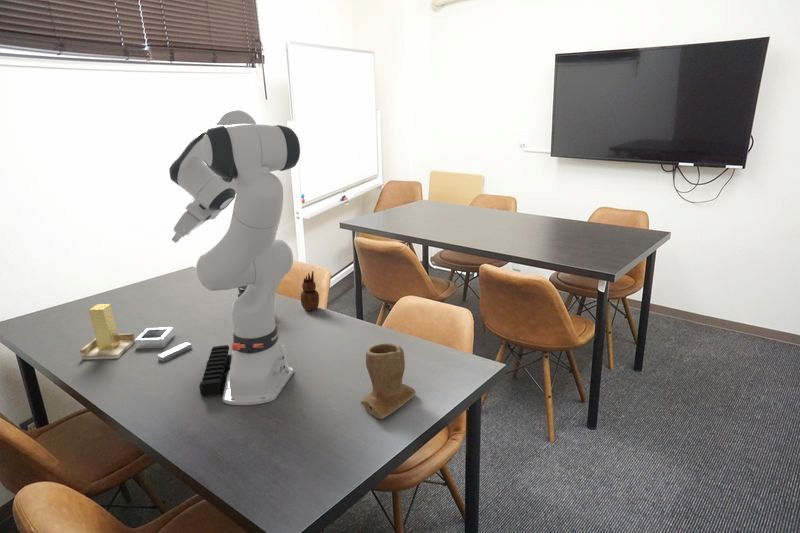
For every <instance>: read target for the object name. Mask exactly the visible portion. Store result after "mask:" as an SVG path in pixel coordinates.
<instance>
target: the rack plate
mask: <svg viewBox="0 0 800 533" xmlns="http://www.w3.org/2000/svg"><path fill="white" fill-rule="evenodd" d="M118 337H119V342H120V344H119V345H118V346H117V347H116V348H114V349H113V350H100V351H99V350H98V346H97V342H96V338H95V337H94V338H93V339H92V340H91V341H89V343H87V344H86V345H85V346H83V347H82V348H81V349H80V355H81V359H82V360H109V359H119V358H120V357H121V356H122V355H123V354H124V353H126V352H127V351H128V349H129V348H131V347H132V346H133V345H135V339H136V338H135V333H134V332H124V333H123V332H122V333H118Z"/></svg>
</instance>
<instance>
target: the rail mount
mask: <svg viewBox="0 0 800 533" xmlns="http://www.w3.org/2000/svg"><path fill="white" fill-rule="evenodd" d="M229 351H230V346H229V345H228V344H224V345H217V346H216V345H215V346H213V347H212V348H211V349H210V353H209V356H208V360H207V361H206V366H205V369H204V372H203V373H204V374H203V377H202V379H201V381H200V382H199V393H200V396H203V397H208V396H216V395H222V396H223V393H224V388H225V383H226V379H227V374H225V372H226V373H228V371H229V370H230V365H231V358H232V354H229ZM220 393H221V394H220Z"/></svg>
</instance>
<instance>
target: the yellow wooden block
mask: <svg viewBox="0 0 800 533" xmlns="http://www.w3.org/2000/svg"><path fill="white" fill-rule="evenodd" d="M88 314H89V317H90V321H91V325H92V329H93V334H94V339H95V338H96V342H97V346H98V350H99V351H100V350H113V349H114V348H116V347H117V346H118V345H119V344H120V342H119V337H118V334H119V333H118V329H117V325H116V321H115V316H114V312H113V307H112V304H111V303H99V304H98V303H96V304H95V305H94V306H92V307H90V308H89V309H88Z"/></svg>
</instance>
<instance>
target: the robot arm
mask: <svg viewBox="0 0 800 533" xmlns="http://www.w3.org/2000/svg"><path fill="white" fill-rule="evenodd" d="M300 157H301V145H300V140H299V137H298V136H297V134H296V132H295V131H294V130H293V129H292V128H290V127H287V126H284V125H279V124H273V125H272V124H271V125H268V124H258V123H257V122H256V120H255V118H253V117H252V116H251V115H250V114H249V113H247V112H245V111H243V110H239V109H230V110H228V111H225V112H224V113H223V114H221V116H220V117H219V118H218V119H217V121H216V122H215V123H214V125H213V126H210V127H208V128H206V130H204V131H203V132H202V131H201V133H199V134H198V135H196V136H195V137H194V138H193V139H192V140H191V141H190V142H189V143H188V145H186V147H185V149H183V151H182V152H181V153H180V154H179V156H178V157H177V158H176V159H175V160H174V161H173V162H172V163H171V165H170V167H169V177H170V180H171V182H173V183H175V184H176V185H178V186H179V187H181V188H182V189H183V190H184V191H185V192H187V194H189V195H190V196H191V197H193V198H192V199H191V201H190V202H189V203H188V204H187V206H186V207H185V211H184V212H183V214H182V215H181V217H180V218H179V220H178V221H177V222H176V224H175V225H174V228H173V231H174V232H175V233H174V235H173V237H172V238H171V241H172V242H174V243H175V244H176V243H178V242H180V240H181V239H182V238H184V237H185V236H188V235H190V234H191V233H192V232H193V231H194V230H196V229H197V228H199V227H200V226H201V225H203V224H204V223H205V222H206V221H209V220H215V219H216V218H217V217H218V216H219V215H220V214H221V212H223V210H226V208H227V207H228V206H229V205H230V204H231V203H232V202H234V203H233V209H232V215H231V220H230V224H229V228H228V229H227V231H226V233H225V235H224V236H223V237H222V238H221V239H220V241H219V242H218V243H217V244H216V245H214V247H212V248H210V250H208V251H207V252H205V253H203V254H202V255H200V256H199V258H198V260H197V262H196V265H195V275H196V278H197V281H198V283H200V285H201V286H202V287H203V288H204V289H205V290H207V291H210V292H212V291H213V292H218V291H230V290H233V289H234V290H235V289H238V287H242V286H246V285H248V286H247V288H246V290H245V291H244V293H243V294H242V295H241V296H240V297H237V298H236V299H235V300H234V302H233V303H232V306H231V316H232V318H231V319H232V324H233V325H232V326H233V334H232V344H231V351H232V352H231V355H232V358H231V365H230V370H229V371H228V372H226V373H227V374H226V375H227V379H226V383H225V388H224V393H223V395H222V403H225V404H227V405H232V406H253V405H260V404H261V405H262V404H265V403H269V402H272V401H274V400H276V399H277V397H278V396H279V395H280V393H281V391H282V390H283V389H284V387H285V386H286V384H287V383H288V381H289V380H290V379H291V377H292V375H294V368H293V367H291V366H288V360H287V355H286V349H285V346H284V344H282V343H281V342H280V341H279V331H278V330H279V329H278V326H277V325H276V321H275V319H276V318H275V306H274V305H275V297H276V293H277V290H278V288H279V286H280V284H281V282H282V280H283V279H284V278H285V276H287V274H288V273H289V272H290V271H291V269H292V267H293V264H294V254H293V251H292V248H291V247H290V246H289V244H288V243H287V242H285V241H284V240H283V239H276V237H277V234H278V233H277V232H278V230H279V227H280V226H279V224H280V221H281V217H282V212H283V205H284V186H283V183H282V181H281V179H280V178H278V176H277V175H276V174H274V173H273V172H276V171H279V172H283V171H287V170H290V169H293V168H294V167H296V166H297V164H298V162H299V160H300Z"/></svg>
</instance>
